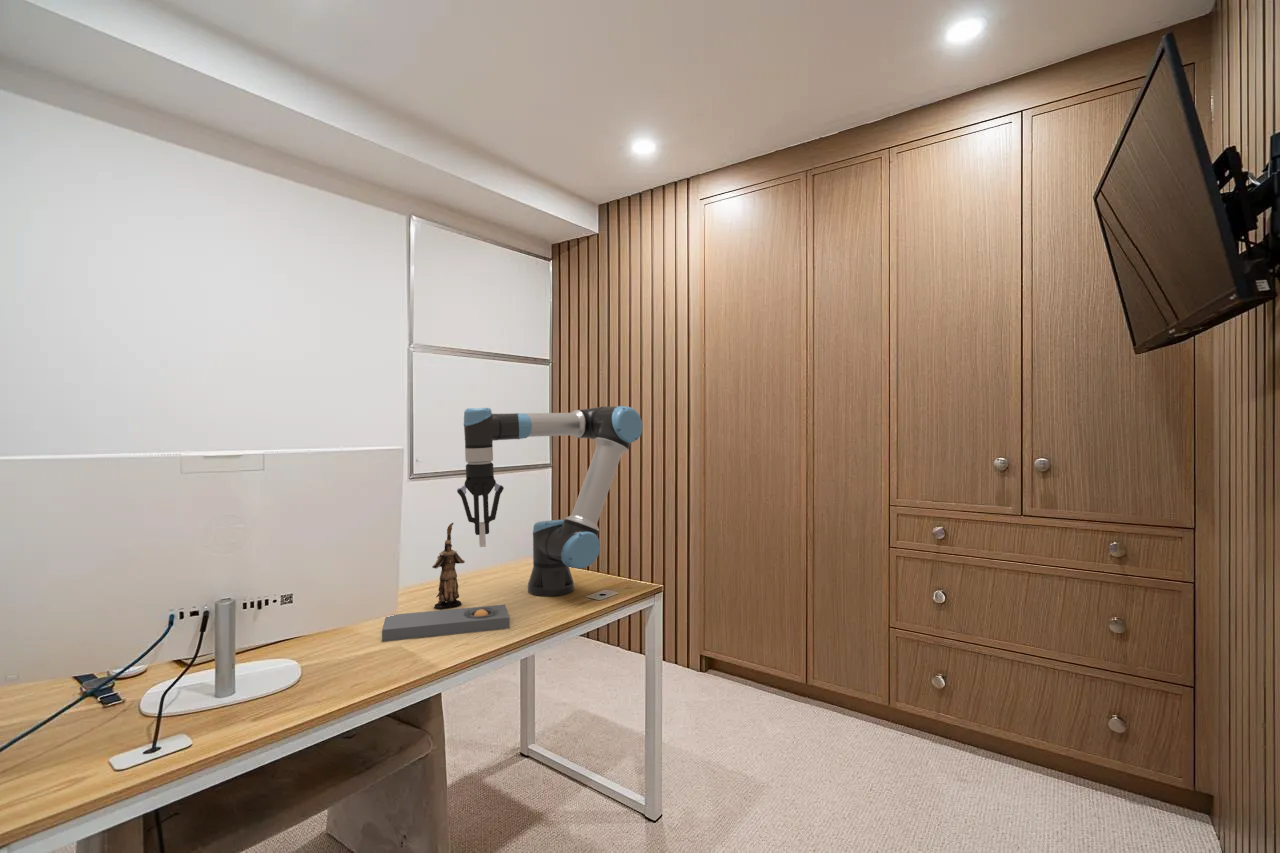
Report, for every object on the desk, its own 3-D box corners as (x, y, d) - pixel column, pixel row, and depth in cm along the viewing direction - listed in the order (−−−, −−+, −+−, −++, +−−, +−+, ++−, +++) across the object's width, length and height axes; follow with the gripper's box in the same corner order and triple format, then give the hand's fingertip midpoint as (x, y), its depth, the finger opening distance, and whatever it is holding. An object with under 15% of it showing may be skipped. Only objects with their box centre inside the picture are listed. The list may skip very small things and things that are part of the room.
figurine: (466, 604, 187) (466, 523, 186) (438, 612, 179) (438, 527, 179) (454, 600, 191) (454, 520, 190) (426, 608, 183) (426, 525, 183)
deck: (505, 614, 178) (505, 604, 178) (509, 628, 166) (509, 617, 166) (386, 626, 168) (386, 615, 168) (382, 641, 156) (382, 629, 156)
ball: (486, 622, 172) (489, 608, 172) (487, 627, 168) (490, 612, 168) (471, 621, 171) (474, 606, 171) (472, 625, 167) (475, 611, 167)
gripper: (501, 460, 178) (504, 540, 179) (454, 462, 173) (458, 545, 174) (504, 462, 171) (507, 546, 172) (455, 465, 166) (459, 551, 167)
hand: (482, 545), depth 173 cm, fingers closed
